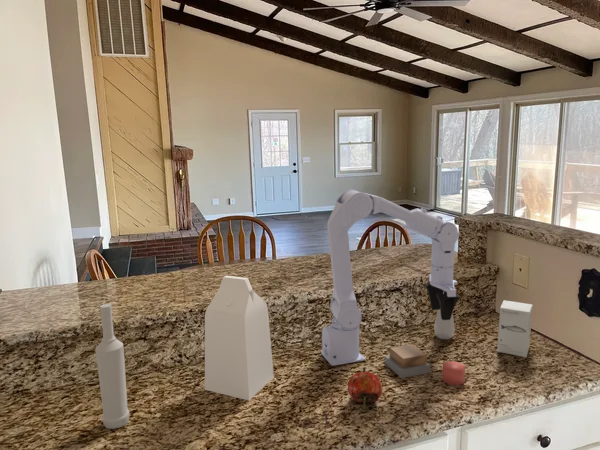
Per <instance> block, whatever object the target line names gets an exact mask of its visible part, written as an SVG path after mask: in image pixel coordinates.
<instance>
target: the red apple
mask: <svg viewBox="0 0 600 450" xmlns="http://www.w3.org/2000/svg"><path fill="white" fill-rule="evenodd" d="M383 389H384V388H383V385H382V382H381V380H380V378H379V376H377V375H376V374H375V373H372V372H370V371H367V370H366V367H365V366H364V367H362V372H356V373H355V374H353V375H351V376H350V378H349V380H348V383H347V392H348V393H349V396H350V397H351V399H352V401H354V402H355V403H363V413H365V412H366V408H365V407H366V402H368V403H376V402H378V400H379V399H380V397H381V396H382V394H383Z"/></svg>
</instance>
